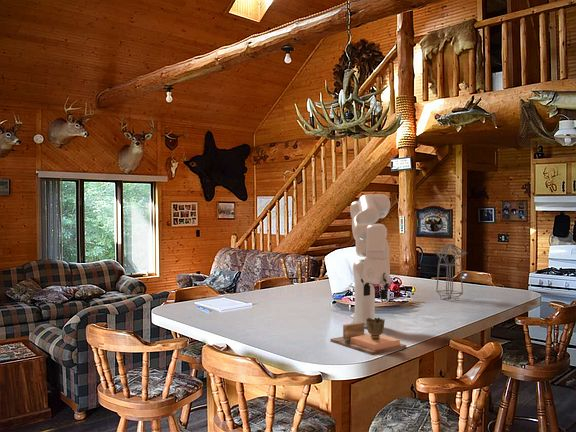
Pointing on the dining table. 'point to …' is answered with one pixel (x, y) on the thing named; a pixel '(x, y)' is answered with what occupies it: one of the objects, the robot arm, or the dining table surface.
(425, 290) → the dining table surface
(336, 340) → the walnut board
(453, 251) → the geometric lantern
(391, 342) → the tile
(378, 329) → the cup
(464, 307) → the dining table surface
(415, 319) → the dining table surface
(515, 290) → the dining table surface
